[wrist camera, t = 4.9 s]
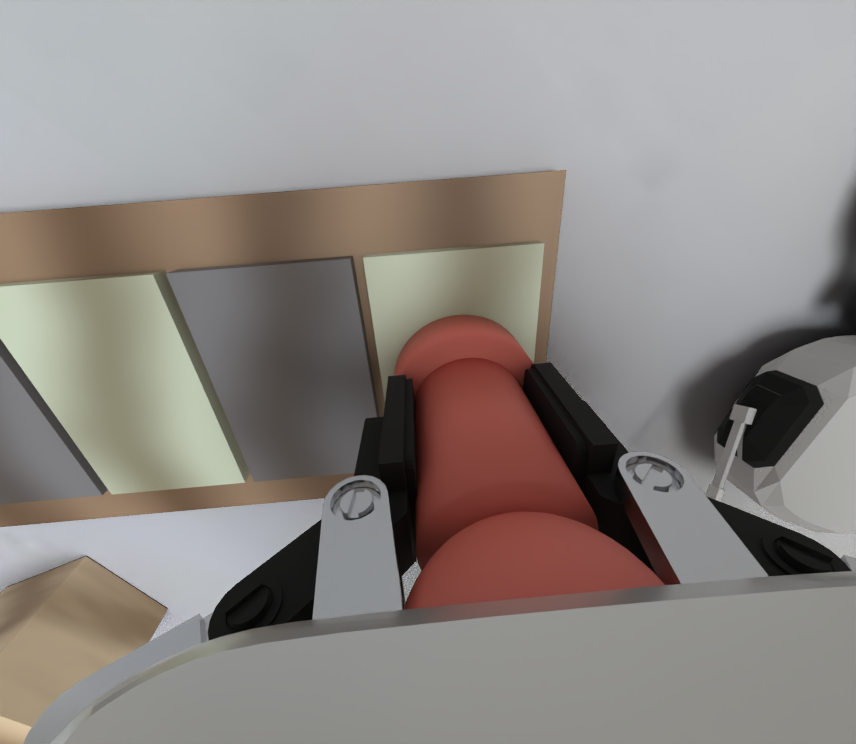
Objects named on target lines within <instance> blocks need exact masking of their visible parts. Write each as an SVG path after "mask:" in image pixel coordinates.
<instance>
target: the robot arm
mask: <svg viewBox="0 0 856 744" xmlns="http://www.w3.org/2000/svg"><path fill="white" fill-rule="evenodd" d="M523 391H524V393H525V394H526V396H527V398H528V399H529V401H530V403H531V405H532V406H533V408H534V410H535V412H536V413H537V415H538V417H539V418H540V420H541V422H542V424H543V425H544V427H545V429H546V430H547V432H548V434H549V436H550V437H551V439H552V441H553V442H554V444H555V446H556V448H557V449H558V451H559V453H560V455H561V456H562V458H563V460H564V461H565V463H566V465H567V467H568V468H569V470H570V472H571V473H572V475H573V477H574V479H575V480H576V482H577V484H578V485H579V487H580V489H581V491H582V492H583V494H584V496H585V498H586V499H587V501H588V503H589V504H590V506H591V508H592V510H593V512H594V513H595V515H596V518H597V522H598V531H599V532H601V533H603V534H605V535H606V536H608V537H610V538H612V539H613V540H614V541H616V542H617V543H619V544H620V545H622V546H623V547H625V548H626V549H628V550H629V551H630V552H631V553H632V554H633V555H635V556H636V557H637V558H638V559H639V560H640V561H642V562H643V563H644V564H645V565H646V566H647V567H648V568H650V569H651V570H652V571H653V572H654V573H655V574H656V575H657V576H658V577H659V579H660V580H661V581H662V582H663V583H664V584H665V585H663V586H651V587H640V588H629V589H618V590H607V591H596V592H585V593H574V594H563V595H552V596H542V597H531V598H520V599H509V600H498V601H488V602H478V603H467V604H457V605H447V606H437V607H426V608H416V609H406V610H403V609H404V606H405V603H406V600H405V592H404V585H403V577H402V575H403V574H404V573H405V572H406V571H407V570H408V569H409V568H410V567H411V566H412V565H413V564H414V562H417V559H416V511H415V504H416V497H417V463H416V427H415V398H414V389H413V380H412V379H406V375H395V376H388V382H387V390H386V399H385V408H384V416H383V417H373V418H366V419H365V422H364V427H363V432H362V437H361V442H360V447H359V452H358V457H357V462H356V468H355V473H354V477H350V478H347V479H345V480H343V481H341V482H339V483H338V484H336V485H335V486H334V487H333V488H332V489H331V490H330V491H329V493H328V494H327V496H326V497H325V500H324V504H323V511H322V519H321V520H320V521H319V522H317V523H316V524H315V525H313V526H312V527H311V528H309V529H308V530H307V531H305V532H304V533H303V534H301V535H300V536H299V537H298V538H296V539H295V540H294V541H292V542H291V543H290V544H288V545H287V546H286V547H284V548H283V549H282V550H280V551H279V552H278V553H277V554H275V555H274V556H273V557H271V558H270V559H269V560H267V561H266V562H265V563H263V564H262V565H261V566H260V567H258V568H257V569H256V570H254V571H253V572H252V573H250V574H249V575H248V576H246V577H245V578H244V579H242V580H241V581H240V582H239V583H237V584H236V585H235V586H234V587H233V588H232V589H231V590H229V591H228V592H227V593H226V594H225V595H224V597H223V598H222V599H221V601H220V602H219V603H218V605H217V606H216V608H215V610H214V612H213V613H211V614H210V615H208V616H206V617H204V618H202V617H201V615H200V614H198V615H196V616H194V617H193V618H191V619H189V620H187V621H186V622H184V623H182V624H180V625H178V626H177V627H175V628H173V629H171V630H170V631H168V632H166V633H164V634H162V635H161V636H159V637H157V638H155V639H154V640H152V641H150V642H148V643H146V644H145V645H143V646H141V647H139V648H138V649H136V650H134V651H132V652H130V653H129V654H127V655H125V656H123V657H122V658H120V659H118V660H116V661H114V662H113V663H111V664H109V665H107V666H106V667H104V668H102V669H100V670H98V671H97V672H95V673H93V674H91V675H90V676H88V677H86V678H84V679H82V680H81V681H79V682H78V683H76V684H75V685H74V686H72V687H71V688H69V689H68V690H66V691H65V692H64V693H62V694H61V695H60V696H59V697H58V698H57V699H56V700H55V701H54V702H53V703H52V704H51V705H50V706H49V707H48V708H47V709H46V710H45V711H44V712H43V713H42V714H41V716H40V717H39V719H38V720H37V721H36V723H35V724H34V725H33V727H32V728H31V729H30V731H29V732H28V734H27V736H26V739H25V741H24V743H23V744H856V558H853V557H849V556H846V555H843V557H842V558H841V559H840V558H839V557H838V556H837V555H835V554H834V553H833V552H832V551H831V550H829V549H827V548H826V547H824V546H823V545H821V544H820V543H818V542H816V541H815V540H813V539H810V538H808V537H806V536H804V535H802V534H800V533H797V532H795V531H792V530H790V529H787V528H785V527H782V526H780V525H777V524H775V523H772V522H770V521H767V520H765V519H762V518H760V517H757V516H755V515H752V514H750V513H747V512H745V511H742V510H740V509H737V508H735V507H732V506H730V505H727V504H725V503H722V502H720V501H717V500H715V499H712V498H710V497H707V496H706V495H705V494H704V493H703V491H702V490H701V489H700V488H699V486H698V485H697V484H696V483H695V481H694V480H693V479H692V477H691V476H690V475H689V474H688V473H687V472H686V471H685V470H684V469H683V468H682V467H681V466H680V465H678V464H677V463H675V462H674V461H672V460H670V459H668V458H666V457H664V456H661V455H658V454H654V453H651V452H643V451H636V452H628V451H627V450H626V449H625V448H624V446H623V445H622V444H621V443H620V442H619V440H618V439H617V438H616V437H615V436H614V435H613V433H612V432H611V431H610V430H609V429H608V428H607V426H606V425H605V424H604V423H603V422H602V420H601V419H600V418H599V417H598V416H597V415H596V413H595V412H594V411H593V410H592V409H591V407H590V406H589V405H588V404H587V403H586V402H585V401H584V400H582V399H581V398H580V397H579V396H578V395H577V394H576V392H575V391H574V390H573V389H572V388H571V386H570V385H569V384H568V383H567V382H566V380H565V379H564V378H563V377H562V376H561V374H560V373H559V372H558V371H557V370H556V368H555V367H554V366H553V365H552V364H551V363H539V364H532V365H531V367H530V369H526V370H525V373H524V386H523Z"/></svg>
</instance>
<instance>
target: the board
mask: <svg viewBox="0 0 856 744" xmlns="http://www.w3.org/2000/svg"><path fill="white" fill-rule="evenodd" d="M565 177H566V170H559V171H546V172H533V173H520V174H507V175H494V176H481V177H468V178H455V179H442V180H429V181H416V182H403V183H390V184H377V185H364V186H351V187H338V188H325V189H312V190H299V191H286V192H273V193H260V194H247V195H234V196H221V197H208V198H195V199H182V200H169V201H156V202H143V203H130V204H117V205H104V206H91V207H78V208H65V209H52V210H39V211H26V212H13V213H0V527H6V526H18V525H29V524H40V523H51V522H62V521H73V520H85V519H96V518H107V517H118V516H129V515H140V514H151V513H163V512H174V511H185V510H196V509H207V508H218V507H230V506H241V505H252V504H263V503H274V502H285V501H297V500H308V499H319V498H325V497H326V496H327V494H328V493H329V491H330V490H331V489H332V488H333V487H334V486H335V485H336V484H338V483H339V482H341V481H343V480H345V479H347V478H350V477H354V473H355V468H356V462H357V457H358V452H359V447H360V442H361V437H362V432H363V427H364V422H365V419H366V418H373V417H383V416H384V408H385V399H386V390H387V382H388V376H394V372H395V366H396V362H397V359H398V356H399V354H400V352H401V350H402V348H403V347H404V345H405V344H406V342H407V341H408V340H409V339H410V338H411V337H412V336H413V335H414V334H415V333H416V332H417V331H418V330H420V329H421V328H422V327H424V326H426V325H428V324H429V323H431V322H433V321H436V320H438V319H441V318H445V317H448V316H454V315H474V316H480V317H484V318H487V319H490V320H492V321H495V322H496V323H498V324H500V325H502V326H503V327H504V328H505V329H507V330H508V331H509V332H510V333H511V334H512V335H513V336H514V337H515V339H516V340H517V341H518V343H519V344H520V346H521V347H522V348H523V350H524V351H525V352H526V354H527V355H528V356H529V358H530V359H531V360H532V362H533V363H534V364H539V363H546V355H547V345H548V336H549V326H550V317H551V308H552V298H553V289H554V280H555V270H556V261H557V252H558V242H559V233H560V223H561V214H562V205H563V195H564V186H565Z"/></svg>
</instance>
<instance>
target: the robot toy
mask: <svg viewBox="0 0 856 744" xmlns="http://www.w3.org/2000/svg"><path fill="white" fill-rule="evenodd" d="M714 452H715V463H716V465H717V467H718V468H717V471H716V474H715V477H714V480H713V482H712V485H711V484H709V487H708V490H707V493H706V496H707V497H710V498H712V499H715V500H717V501H720V502H721V499H722V496H723V493H724V491H725V490H723V486H724V484H725V481H726V479H727V480H728V481H730V482H731V483H732V484H733V485H735V486H736V487H737V488H739V489H740V490H741V491H742V492H744V493H745V494H746V495H747V496H749V497H750V498H751V499H753V500H754V501H755V502H756V503H758V504H759V505H760V506H761V507H763V508H764V509H765V510H766V511H768V512H769V513H771V514H773V515H775V516H776V517H778V518H780V519H782V520H784V521H787V522H789V523H792V524H795V525H798V526H801V527H804V528H806V529H809V530H812V531H815V532H826V533H856V335H849V336H836V337H830V338H824V339H821V340H818V341H815V342H812V343H810V344H807V345H804V346H801V347H798V348H796V349H794V350H792V351H790V352H788V353H786V354H784V355H782V356H780V357H778V358H776V359H774V360H772V361H770V362H768V363H767V364H765V365H763V366H762V367H761V369H760V370H759V372H758V373H757V374H756V376H755V377H754V378H752V380H751V381H750V383H749V384H748V386H747V387H746V389H745V390H744V392H743V393H742V395H741V396H740V397H739V398H738V399H737V400H736V401H735V403H734V405H733V407H732V409H731V411H730V412H729V413H728V415H727V416H726V418H725V419H724V421H723V422H722V424H721V425H720V427H719V428H718V430H717V433H716V434H715V436H714Z"/></svg>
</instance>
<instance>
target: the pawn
mask: <svg viewBox="0 0 856 744" xmlns="http://www.w3.org/2000/svg"><path fill="white" fill-rule="evenodd" d="M532 364H534V363H533V362H532V360H531V359H530V358H529V356H528V355H527V354H526V352H525V351H524V350H523V348H522V347H521V346H520V344H519V343H518V341H517V340H516V339H515V337H514V336H513V335H512V334H511V333H510V332H509V331H508V330H507V329H505V328H504V327H503V326H502V325H500V324H498V323H496V322H495V321H492V320H490V319H487V318H484V317H480V316H474V315H454V316H448V317H445V318H441V319H438V320H436V321H433V322H431V323H429V324H428V325H426V326H424V327H422V328H421V329H420V330H418V331H417V332H416V333H415V334H414V335H413V336H412V337H411V338H410V339H409V340H408V341H407V342H406V344H405V345H404V347H403V348H402V350H401V352H400V354H399V356H398V359H397V362H396V366H395V372H394V376H395V375H406V379H412V380H413V389H414V398H415V427H416V463H417V497H416V504H415V511H416V556H417V560H418V564H419V566H420V568H421V570H422V571H421V573H420V575H419V576H418V578H417V579H416V581H415V583H414V585H413V587H412V590H411V592H410V594H409V596H408V598H407V601H406V603H405V606H404V609H403V610H406V609H416V608H426V607H437V606H447V605H457V604H467V603H478V602H488V601H498V600H509V599H520V598H531V597H542V596H552V595H563V594H574V593H585V592H596V591H607V590H618V589H629V588H640V587H651V586H663V585H665V584H664V583H663V582H662V581H661V580H660V579H659V577H658V576H657V575H656V574H655V573H654V572H653V571H652V570H651V569H650V568H648V567H647V566H646V565H645V564H644V563H643V562H642V561H640V560H639V559H638V558H637V557H636V556H635V555H633V554H632V553H631V552H630V551H629V550H628V549H626V548H625V547H623V546H622V545H620V544H619V543H617V542H616V541H614V540H613V539H612V538H610V537H608V536H606V535H605V534H603V533H601V532H599V531H598V522H597V518H596V515H595V513H594V512H593V510H592V508H591V506H590V504H589V503H588V501H587V499H586V498H585V496H584V494H583V492H582V491H581V489H580V487H579V485H578V484H577V482H576V480H575V479H574V477H573V475H572V473H571V472H570V470H569V468H568V467H567V465H566V463H565V461H564V460H563V458H562V456H561V455H560V453H559V451H558V449H557V448H556V446H555V444H554V442H553V441H552V439H551V437H550V436H549V434H548V432H547V430H546V429H545V427H544V425H543V424H542V422H541V420H540V418H539V417H538V415H537V413H536V412H535V410H534V408H533V406H532V405H531V403H530V401H529V399H528V398H527V396H526V394H525V393H524V391H523V386H524V373H525V370H526V369H530V367H531V365H532Z"/></svg>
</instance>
